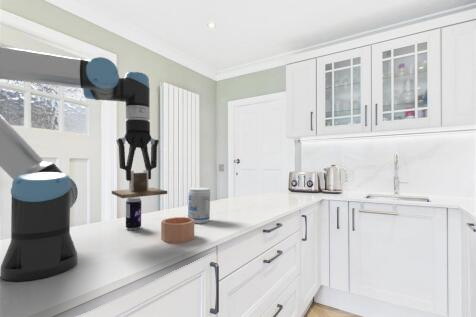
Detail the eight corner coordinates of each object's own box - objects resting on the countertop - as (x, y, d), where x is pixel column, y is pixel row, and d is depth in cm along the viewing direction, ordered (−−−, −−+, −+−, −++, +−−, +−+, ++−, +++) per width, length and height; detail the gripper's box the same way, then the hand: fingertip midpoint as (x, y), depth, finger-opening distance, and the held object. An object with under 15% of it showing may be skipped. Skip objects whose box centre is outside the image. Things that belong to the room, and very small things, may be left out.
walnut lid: (122, 198, 77) (121, 174, 77) (111, 193, 89) (111, 173, 89) (167, 193, 86) (167, 172, 86) (152, 190, 97) (152, 171, 97)
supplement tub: (183, 222, 114) (183, 188, 114) (196, 218, 122) (196, 186, 123) (201, 224, 110) (202, 189, 110) (214, 220, 118) (214, 187, 118)
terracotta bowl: (169, 244, 83) (169, 226, 83) (156, 236, 92) (157, 219, 92) (199, 238, 90) (199, 221, 90) (185, 231, 98) (185, 216, 99)
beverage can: (135, 230, 100) (136, 199, 100) (122, 229, 101) (122, 198, 101) (143, 227, 105) (144, 197, 105) (131, 226, 106) (131, 196, 106)
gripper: (112, 116, 79) (113, 193, 79) (166, 120, 90) (167, 188, 90) (107, 119, 85) (108, 191, 85) (158, 123, 96) (159, 187, 96)
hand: (138, 189), depth 87 cm, fingers closed on walnut lid, 4 cm apart
